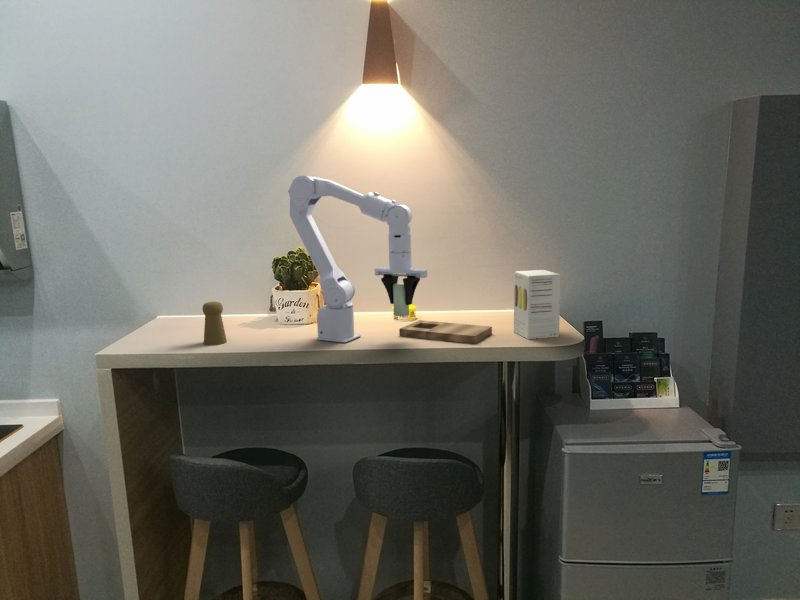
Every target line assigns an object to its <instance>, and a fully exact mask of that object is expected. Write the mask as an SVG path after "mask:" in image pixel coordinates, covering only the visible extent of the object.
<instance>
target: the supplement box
mask: <svg viewBox="0 0 800 600" xmlns="http://www.w3.org/2000/svg"><path fill="white" fill-rule="evenodd" d="M513 273H514V281H513V282H514V284H513V286H514V287H513V288H514V290H513V292H514V294H513V295H514V296H513V333H516V334H517V335H519V336H521V337H522V338H524V337H525V339H526V338H527V340H534V339H536V338H538V339H546V338H547V339H548V337H549V338H558V337H560V319H561V317H560V316H561V315H560V314H561V313H560V311H561V309H560V308H561V303H560V302H561V280H562V279H561V278H562V276H561V273H556V272H553V271H550V270H547V269H536V270H535V269H533V270H518V271H514V272H513Z"/></svg>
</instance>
